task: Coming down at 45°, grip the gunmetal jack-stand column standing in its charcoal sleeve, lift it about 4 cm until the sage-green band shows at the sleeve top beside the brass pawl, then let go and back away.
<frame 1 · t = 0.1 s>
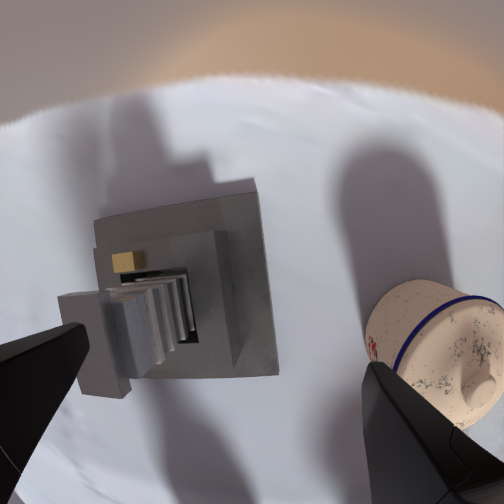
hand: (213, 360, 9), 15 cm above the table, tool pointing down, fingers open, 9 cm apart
column: (144, 316, 18), point 7 cm above the table, slide at 0.0 cm
stand base: (182, 294, 25), on the table
teacup with lid: (422, 339, 23), on the table
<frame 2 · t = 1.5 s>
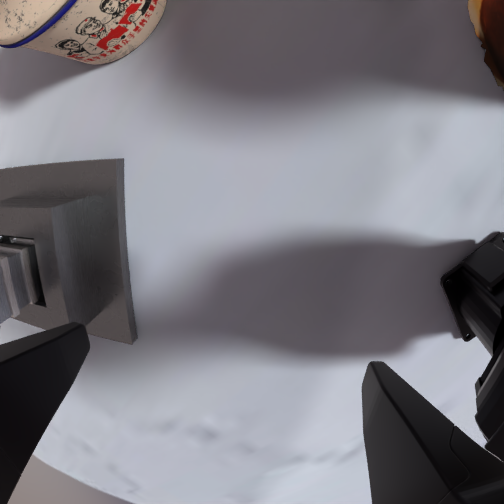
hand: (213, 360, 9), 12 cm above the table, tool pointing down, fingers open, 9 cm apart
stand base: (58, 248, 23), on the table
teacup with lid: (130, 1, 16), on the table
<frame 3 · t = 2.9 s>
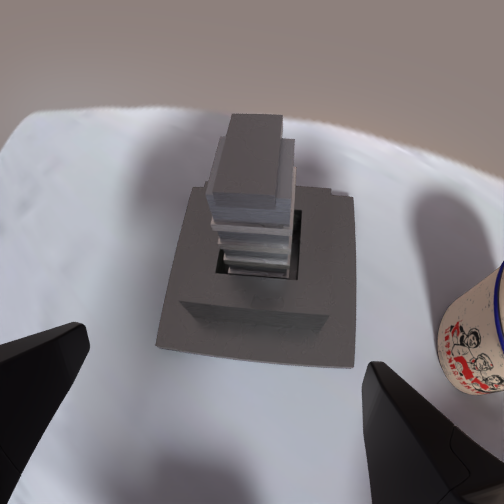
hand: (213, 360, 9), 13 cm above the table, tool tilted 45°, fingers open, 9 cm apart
column: (258, 222, 18), point 7 cm above the table, slide at 0.0 cm
stand base: (263, 271, 25), on the table
teacup with lid: (484, 356, 20), on the table
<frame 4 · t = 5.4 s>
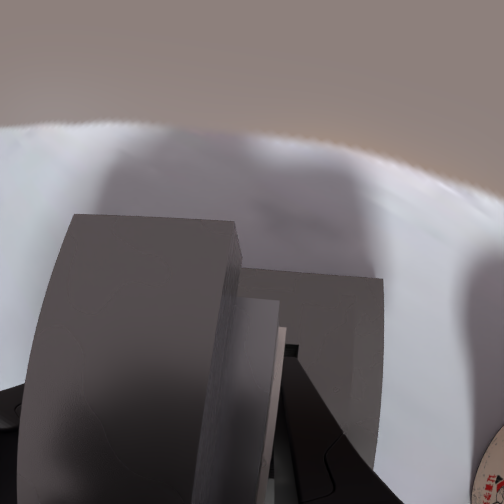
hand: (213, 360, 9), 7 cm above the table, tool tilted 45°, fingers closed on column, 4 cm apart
column: (207, 406, 8), point 7 cm above the table, slide at 0.0 cm, touching gripper
stand base: (236, 404, 14), on the table
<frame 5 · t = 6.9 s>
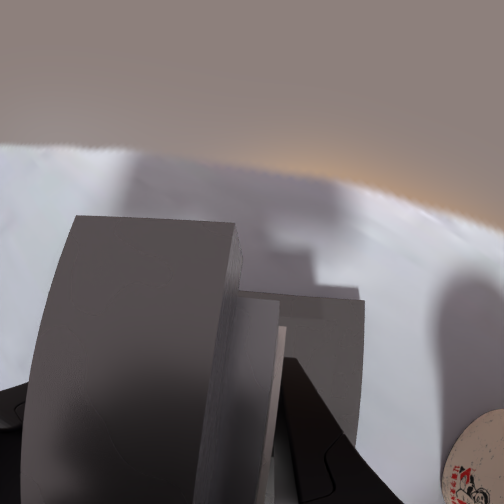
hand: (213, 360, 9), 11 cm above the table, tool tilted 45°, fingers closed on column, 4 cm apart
column: (207, 404, 8), point 11 cm above the table, slide at 4.0 cm, touching gripper
stand base: (244, 401, 18), on the table
teacup with lid: (491, 473, 13), on the table
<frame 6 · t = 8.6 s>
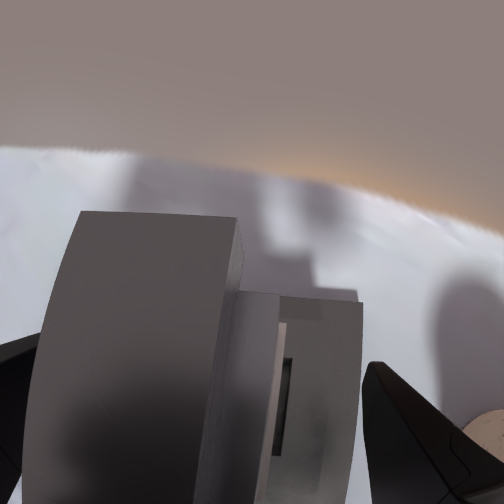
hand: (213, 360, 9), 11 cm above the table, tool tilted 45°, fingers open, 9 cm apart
column: (208, 402, 8), point 11 cm above the table, slide at 4.2 cm
stand base: (244, 402, 18), on the table
teacup with lid: (489, 473, 14), on the table
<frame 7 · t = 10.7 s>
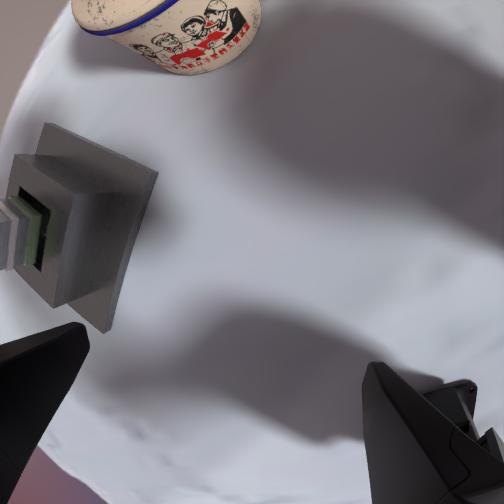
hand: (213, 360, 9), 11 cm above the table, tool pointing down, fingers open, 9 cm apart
stand base: (73, 221, 24), on the table
teacup with lid: (223, 18, 18), on the table
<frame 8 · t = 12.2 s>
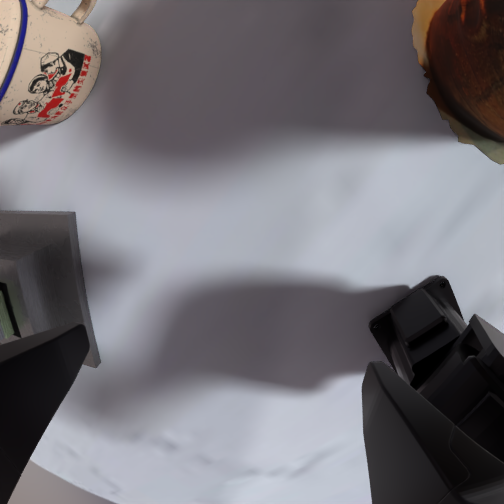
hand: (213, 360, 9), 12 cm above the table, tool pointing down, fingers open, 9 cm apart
vessel: (492, 70, 14), on the table
stand base: (32, 284, 24), on the table
teacup with lid: (73, 58, 18), on the table
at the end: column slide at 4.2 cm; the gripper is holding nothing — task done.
